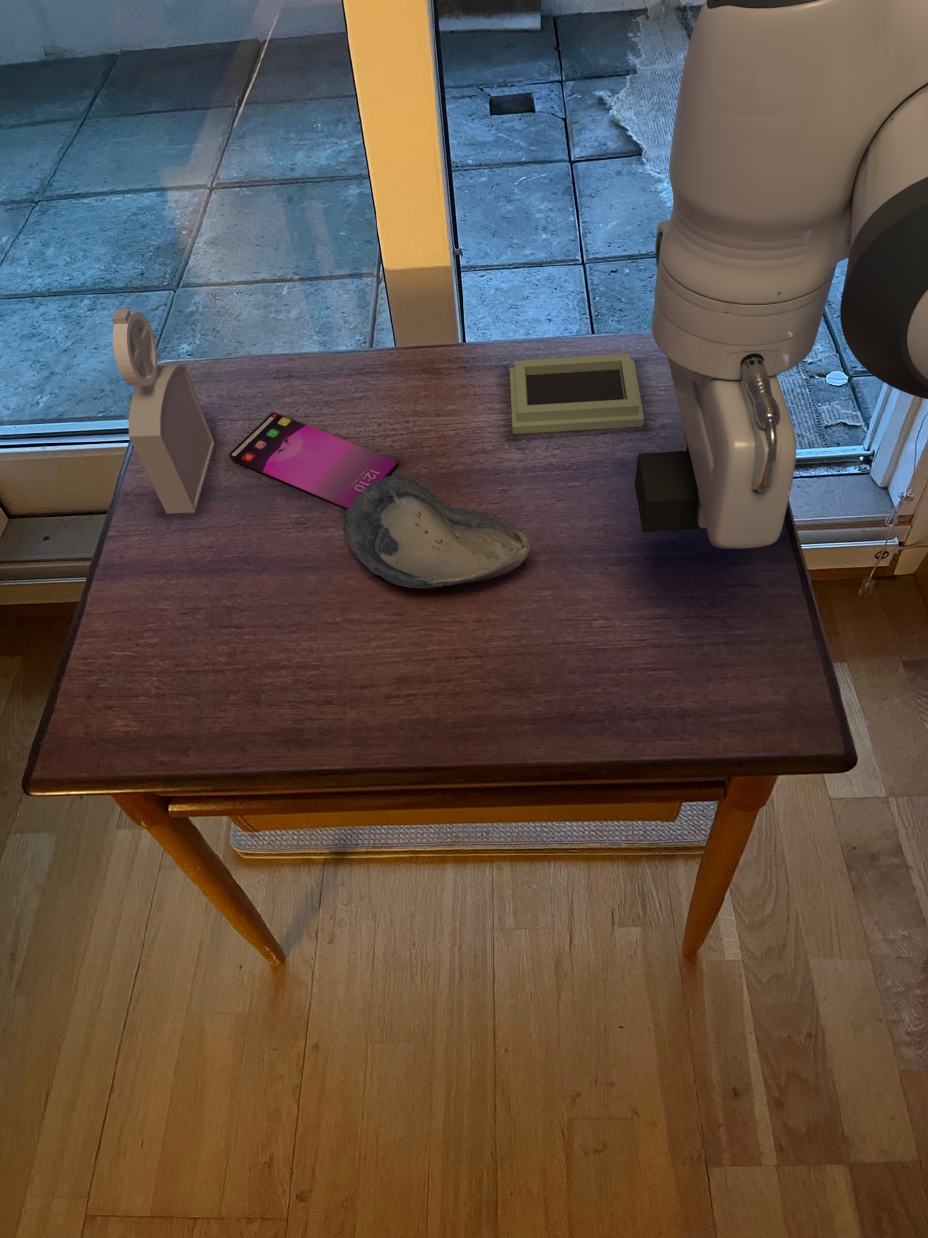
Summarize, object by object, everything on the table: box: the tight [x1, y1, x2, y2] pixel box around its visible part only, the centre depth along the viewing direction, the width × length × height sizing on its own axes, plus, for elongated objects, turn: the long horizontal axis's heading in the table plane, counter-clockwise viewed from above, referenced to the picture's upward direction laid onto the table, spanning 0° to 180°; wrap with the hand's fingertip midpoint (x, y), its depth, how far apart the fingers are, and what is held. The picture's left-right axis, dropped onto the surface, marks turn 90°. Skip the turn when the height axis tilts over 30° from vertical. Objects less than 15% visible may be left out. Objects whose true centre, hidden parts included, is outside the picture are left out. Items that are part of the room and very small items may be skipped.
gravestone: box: [111, 308, 216, 515], centre depth 80 cm, size 3×9×18 cm, turn 178°
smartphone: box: [228, 411, 399, 510], centre depth 87 cm, size 7×15×1 cm, turn 59°
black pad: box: [634, 450, 707, 533], centre depth 60 cm, size 8×4×3 cm, turn 91°
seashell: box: [342, 474, 532, 589], centre depth 77 cm, size 15×12×5 cm
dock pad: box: [509, 352, 645, 435], centre depth 89 cm, size 12×9×2 cm
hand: (701, 487), depth 60 cm, fingers closed on black pad, 4 cm apart
